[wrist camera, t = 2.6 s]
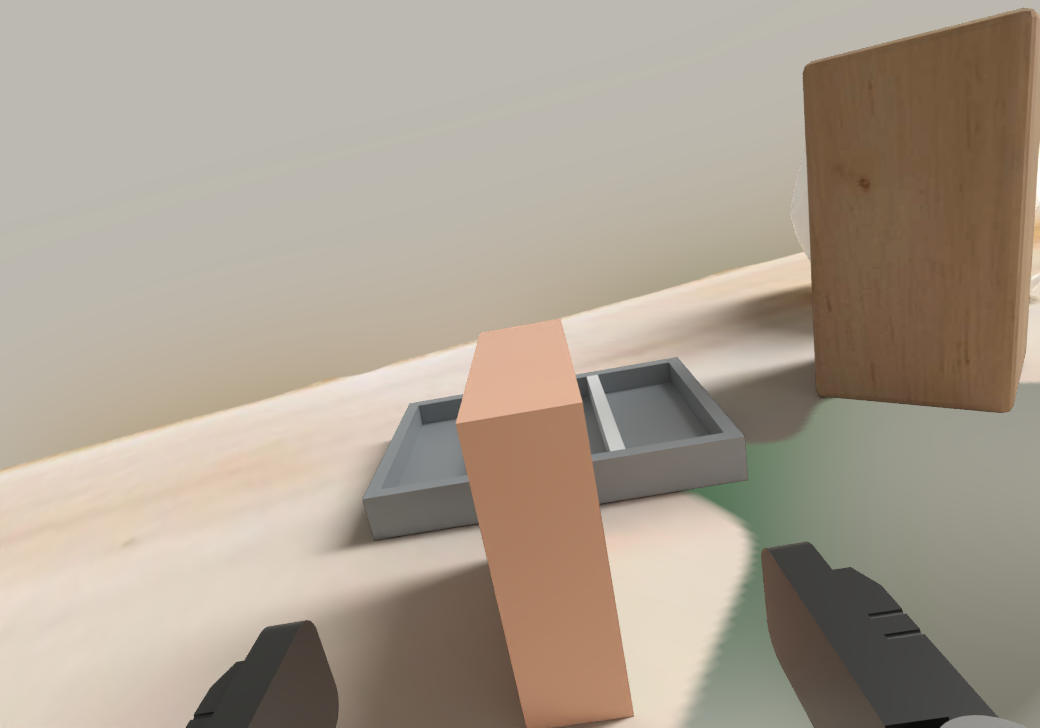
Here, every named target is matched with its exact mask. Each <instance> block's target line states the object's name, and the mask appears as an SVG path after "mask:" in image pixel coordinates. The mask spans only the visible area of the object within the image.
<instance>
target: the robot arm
mask: <svg viewBox="0 0 1040 728" xmlns="http://www.w3.org/2000/svg"><path fill="white" fill-rule="evenodd" d="M761 558H762V570H763V581H764V592H765V602H766V613H767V623H768V629H769V633H770V637H771V641H772V644H773V647H774V650H775V653H776V656H777V658H778V660H779V662H780V664H781V666H782V668H783V670H784V672H785V674H786V676H787V678H788V680H789V681H790V683H791V685H792V687H793V689H794V691H795V693H796V695H797V697H798V698H799V700H800V702H801V704H802V706H803V707H804V710H805V711H806V713H807V715H808V717H809V719H810V721H811V723H812V725H813V727H814V728H1027V727H1025V726H1023V725H1020V724H1017V723H1014V722H1012V721H1009V720H1005V719H1001V718H999V717H998V716H997V715H995V713H994V712H993V711H992V710H991V709H990V708H989V706H988V705H987V704H986V703H985V702H984V701H983V700H982V699H981V698H980V696H979V695H978V694H977V693H976V692H975V691H974V690H973V688H972V687H971V686H970V685H969V684H968V683H967V682H966V681H965V679H964V678H963V677H962V676H961V675H960V674H959V673H958V672H957V670H956V669H955V668H954V667H953V666H952V665H951V664H950V662H949V661H948V660H947V659H946V658H945V657H944V656H943V655H942V653H941V652H940V651H939V650H938V649H937V648H936V647H935V646H934V645H933V643H932V642H931V641H930V640H929V639H928V638H927V637H926V635H924V634H923V635H922V634H921V632H920V629H919V627H918V626H917V625H916V624H915V623H914V622H913V621H912V620H911V619H910V617H909V616H908V615H907V614H904V613H903V611H902V608H901V607H900V606H899V605H898V604H897V603H896V602H895V600H894V599H893V598H892V597H891V596H890V595H889V594H888V593H887V591H886V590H885V589H884V588H883V587H882V586H881V585H880V584H878V583H876V582H875V581H873V580H871V579H870V578H868V577H866V576H865V575H863V574H861V573H859V572H858V571H856V570H854V569H853V568H851V567H849V568H842V569H835V570H832V569H831V568H830V566H829V565H828V564H827V563H826V561H825V560H824V559H823V557H822V556H821V555H820V554H819V552H818V551H817V550H816V549H815V547H814V546H813V545H812V544H810V543H809V542H802V543H796V544H789V545H783V546H777V547H770V548H764V549H763V550H762V557H761ZM337 718H338V693H337V688H336V684H335V682H334V679H333V676H332V673H331V670H330V667H329V664H328V661H327V658H326V656H325V653H324V650H323V647H322V644H321V641H320V638H319V635H318V632H317V630H316V627H315V626H314V624H313V623H312V622H311V621H308V620H306V621H300V622H294V623H288V624H281V625H275V626H269V627H266V628H265V629H264V630H263V631H262V632H261V633H260V635H259V637H258V638H257V640H256V642H255V644H254V645H253V647H252V649H251V650H250V652H249V654H248V655H247V657H246V659H245V661H240V662H236V663H235V664H234V665H233V666H232V667H231V668H230V669H229V670H228V671H227V672H226V673H225V674H224V675H223V676H222V677H221V678H220V679H219V680H218V681H217V682H216V683H215V684H214V685H213V686H212V687H211V688H210V689H209V691H208V693H207V694H206V696H205V697H204V699H203V701H202V702H201V704H200V705H199V707H198V709H197V710H196V712H195V713H194V719H193V720H190V721H189V723H188V725H187V726H186V728H335V727H336V724H337Z"/></svg>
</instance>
